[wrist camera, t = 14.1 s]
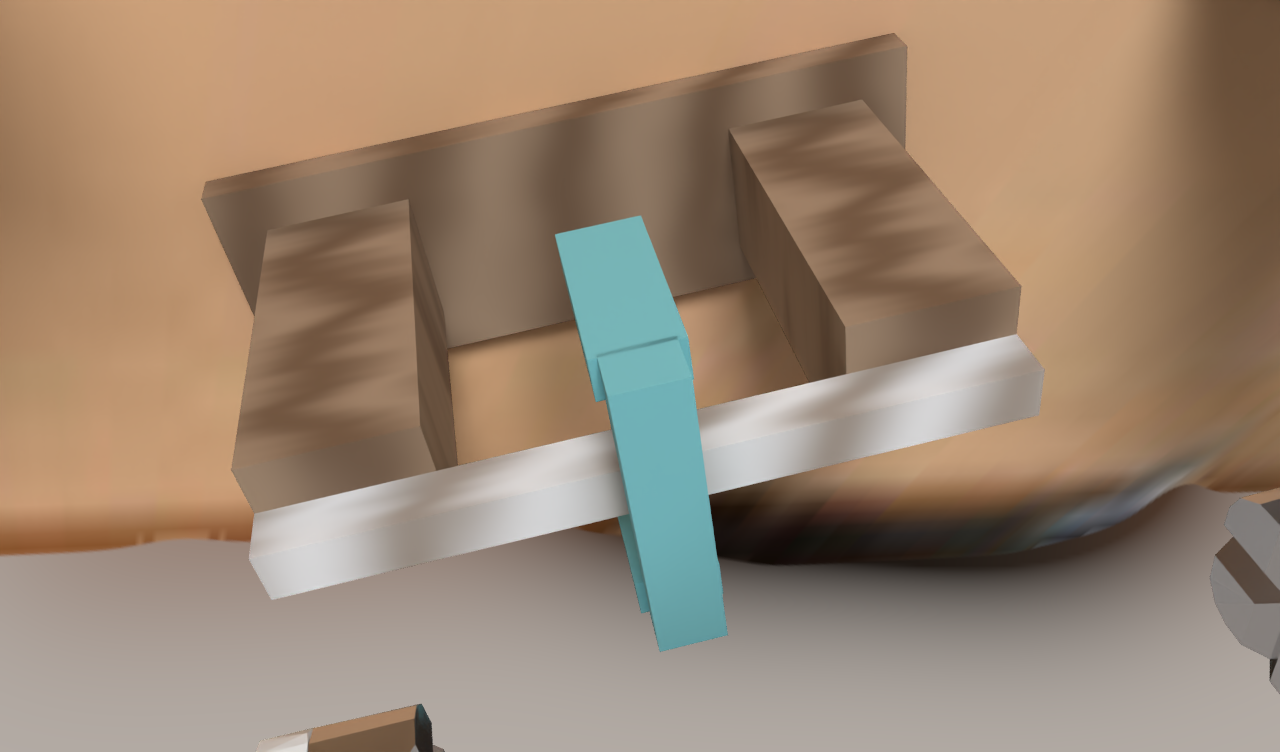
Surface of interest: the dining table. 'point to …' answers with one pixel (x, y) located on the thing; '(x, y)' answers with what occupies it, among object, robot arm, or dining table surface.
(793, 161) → the shelf
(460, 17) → the dining table surface
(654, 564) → the teal stepped bracket
